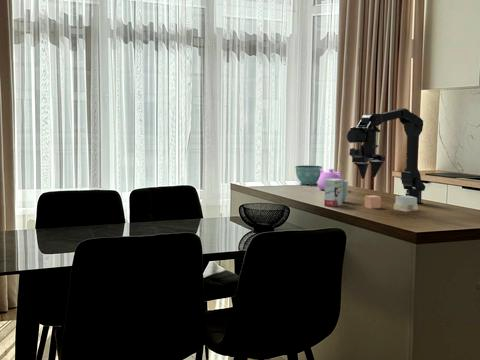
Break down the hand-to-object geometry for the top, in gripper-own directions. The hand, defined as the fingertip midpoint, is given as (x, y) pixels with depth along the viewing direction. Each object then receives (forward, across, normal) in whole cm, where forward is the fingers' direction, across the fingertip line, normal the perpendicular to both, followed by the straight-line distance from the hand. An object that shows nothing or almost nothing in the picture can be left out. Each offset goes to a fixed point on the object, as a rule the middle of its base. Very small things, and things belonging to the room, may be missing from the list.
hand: (368, 177), depth 247 cm
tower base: (+13, -4, +16) cm, 21 cm away
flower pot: (+13, -55, -74) cm, 93 cm away
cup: (+13, -3, -17) cm, 21 cm away
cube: (+13, +1, +3) cm, 13 cm away
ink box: (+13, +8, -12) cm, 20 cm away
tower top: (+10, -4, +16) cm, 20 cm away
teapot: (+13, -40, -48) cm, 63 cm away
